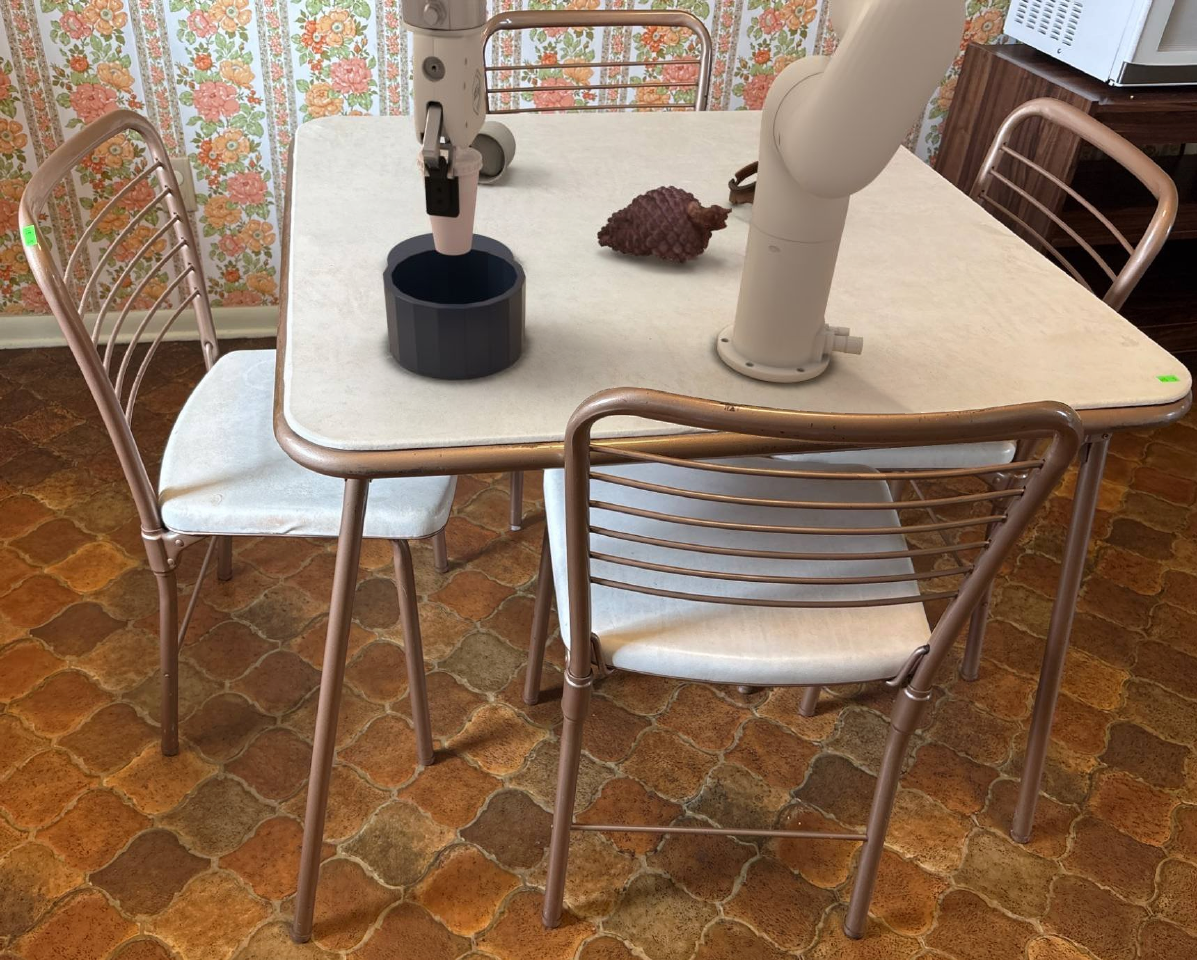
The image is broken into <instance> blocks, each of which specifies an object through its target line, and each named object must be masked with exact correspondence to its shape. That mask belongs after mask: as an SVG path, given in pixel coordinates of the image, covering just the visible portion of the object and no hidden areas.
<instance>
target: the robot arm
mask: <svg viewBox="0 0 1197 960" xmlns="http://www.w3.org/2000/svg"><path fill="white" fill-rule="evenodd" d="M400 1H401V14H402V26H403V28H404V29H405V30H407V31H408V32H411V33H412V56H411V58H412V97H413V99H412V100H413V118H414V130H415V138H416V140H417V142H418V143H419V144H420V145H422V147H421V150H422V155H423V158H424V160H423V162H424V178H425V188H424V194H425V212H426V214H427V215H428V216H430V215H431V216H441V217H451V218H457V217H458V215H459V214H460V205H459V176H455V166H456V150H457V146H460V149H466V148H467V147H471V148H473V147H474V139H475V137H476V136H477V134H478V133H479V131H480V129H481V128H482V126H483V124H484V122H486V119H487V118H486V117H487V106H486V103H487V102H486V87H485V86H486V85H485V70H484V69H485V68H484V54H483V53H484V52H483V43H482V33H483V32H485V31H486V30H487V28H488V21H487V20H488V19H487V17H488V15H487V13H488V12H487V0H400ZM828 11H829V12H828V13H829V21H830V24H831V27H832V29H833V32H834V34H835V35H836V37H837V38H838V40H839V41H840V42H839V43H838V46H837V48H836V49H835V51H834V53H833V55H832V56H829V55H822V54H816V55H815V54H814V55H807V56H803V57H801V58H799V59H797V60H795V61H793V62H791V63H789V65H787V66H785V67H784V68H783V69H782V70H781V71H780V72H779V73H778V74H777V76H776V77H775V78H774V80H773V81H772V83H771V85H770V87H769V89H768V91H767V94H766V96H765V99H764V103H763V107H762V111H761V120H760V131H759V132H760V133H759V145H758V148H759V149H758V160H757V161H758V171H757V173H756V180H755V181H756V188H755V195H754V202H753V205H752V210H751V214H750V215H751V216H750V221H749V227H748V235H747V241H746V247H745V254H744V259H743V264H742V265H743V266H742V272H741V278H740V283H739V284H740V286H739V292H738V297H737V305H736V313H735V318H734V322H733V323H731V324H729V325H727V326H726V327H725V328H722V330H721V332H720V333H719V334H718V338H717V342H716V343H717V344H716V350H717V354H718V355H719V357H720V359H721V360H722V361H723V362H724V363H725V364H726V365H727V366H729V367H730V368H731V369H733V370H734V371H737V372H738V373H740V374H741V375H744V376H747V377H750V378H752V379H757V380H760V381H764V382H769V383H785V384H787V383H798V382H804V381H807V380H811V379H814V378H816V377H818V376H820V375H821V374H822V373H823V372H825V371H826V369H827V368H828V366H829V362H830V359H831V355H832V353H833V352H838V353H843V354H849V355H859V356H860V355H862V352H863V347H864V338H863V337H862V336H854V335H853V336H852V335H850V327H846V326H831V325H829V323H826V319H825V316H826V311H827V306H828V302H829V297H830V293H831V287H832V282H833V279H834V274H835V270H836V269H835V268H836V265H837V259H838V256H839V252H840V251H839V250H840V247H841V241H842V237H843V236H842V235H843V233H844V229H845V225H846V221H847V216H848V211H849V203H850V198H851V195H852V196H853V195H854V194H856V193H858V192H860V191H862V190H863V189H865V188H866V187H867V186H869V185H870V184H871V183H872V182H873V181H874V180H875V179H876V178H878V176H879V175H880V174H881V173H882V172H883V171H884V170H885V168H886V167H887V166H888V164H889V163H890V162H891V160H892V159H893V158H894V156H895V155H896V153H897V151H898V150H899V149H900V147H901V145H902V144H903V143H904V141H905V139H906V137H907V136H908V134H909V133H910V132H911V130H912V128H913V127H914V126H915V124H916V121H918V119H919V117H920V116H921V114H922V113H923V111H924V110H925V108H926V106H927V105H928V103H929V102H930V100H931V98H932V97H933V95H934V94H935V93H936V91H937V89H938V87H939V86H940V84H941V83H942V81H943V79H944V78H945V77H946V74H947V73H948V71H949V69H950V68H951V66H952V64H953V62H954V61H955V59H956V56H957V53H958V51H959V49H960V47H961V43H962V40H963V36H964V34H965V29H966V21H967V7H966V0H829V6H828ZM441 138H443V140H444V142H441ZM440 150H444V151H448V164H447V161H446V159H445V157H444V156H440V154H441V152H440Z"/></svg>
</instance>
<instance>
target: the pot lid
mask: <svg viewBox="0 0 1197 960" xmlns="http://www.w3.org/2000/svg"><path fill="white" fill-rule="evenodd" d="M432 246H435V243H434V237H433V232H428V233H423V234H419V235H415V236H412V237H409V238H406V239H404V240H403V241H400V242H398V243H397V244H396V245H394V246H393V247H392V248H391V249H390V251H389V252H388V254H387V258H386V264H387V265H388V264H389V263H390V262H391V261H393V260H395V259H396V258H398V257H400V256H401V255H403V254H405V253H408V252H411V251H414V250H417V249H420V248H425V247H432ZM472 246H478V247H483V248H489V249H493V250H495V251H498V252H500V253H503V254H505V255H508V256H510V257H511V258H513V259H514V260H515V256H514V253H513V252H512V250H511V248H509V247H508V246H507V245H506V244H504V242H503V243H502V242H501V241H499V240H497V239H496V238H495V239H494V238H493V237H489V236H486V235H484V234H483V235H482V234H478V233H474V232H473V236H472Z"/></svg>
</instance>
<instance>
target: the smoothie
mask: <svg viewBox="0 0 1197 960" xmlns="http://www.w3.org/2000/svg"><path fill="white" fill-rule="evenodd" d="M440 152H441V154H440V156H444V157H445V159H446V161H447V164H448V151H444V150H440ZM416 159H417V161H416V162H417V163H416V165H417V166H416V167H417V168H418V169H419V170H420V171H421V177H422V182H423V186H424V189H425V178H424V162H423V160H424V158H423V155H422V149H421V150H420V151H418V153H417V158H416ZM482 166H483V164H482V155H481V153H480V152H479V151H477V150H475V149H473V148H471V147H467V148H466V149H460V146H457V150H456V166H455V176H459V205H460V214H459V215H458V217H457V218H451V217H441V216H431V215H429V220H430V225H431V226H430V227H431V231H432V232H431V233H433V237H434V243H435V248H436V250H437V251H438V252H440V253H442V254H446V255H461V254H465V253H467V252H469V251H470V250H471V245H472V236H473V233H474V227H475V226H474V225H475V224H474V223H475V215H476V206H477V205H476V204H477V195H478V187H479V183H478V178H479V170H480V169H481V168H482Z"/></svg>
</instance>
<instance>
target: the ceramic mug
mask: <svg viewBox="0 0 1197 960" xmlns="http://www.w3.org/2000/svg"><path fill="white" fill-rule="evenodd" d="M516 143H517V142H516V138H515V135H514V134H513V133H512V131H511V130H510V128H508V126H506V125H505V124H503V123H502V122H499V121H495V120H488V121H485V122H484V124H483V126H482V128H481V129H480V131H479V133H478V134H477V136H476V137H475V139H474V147H473V149H475V150H477V151H479V152H480V153H481V155H482V164H483V166H482V168H481V169H480V170H479V178H478V184H481V185H488V184H493V183H495V182H497V181H499V180H500V179H501V178H503V176H504V175H505V173H506V171H507V169H509V167H510V165H511V163H512V162H513V160H514V158H515V155H516V151H517V144H516Z"/></svg>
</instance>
